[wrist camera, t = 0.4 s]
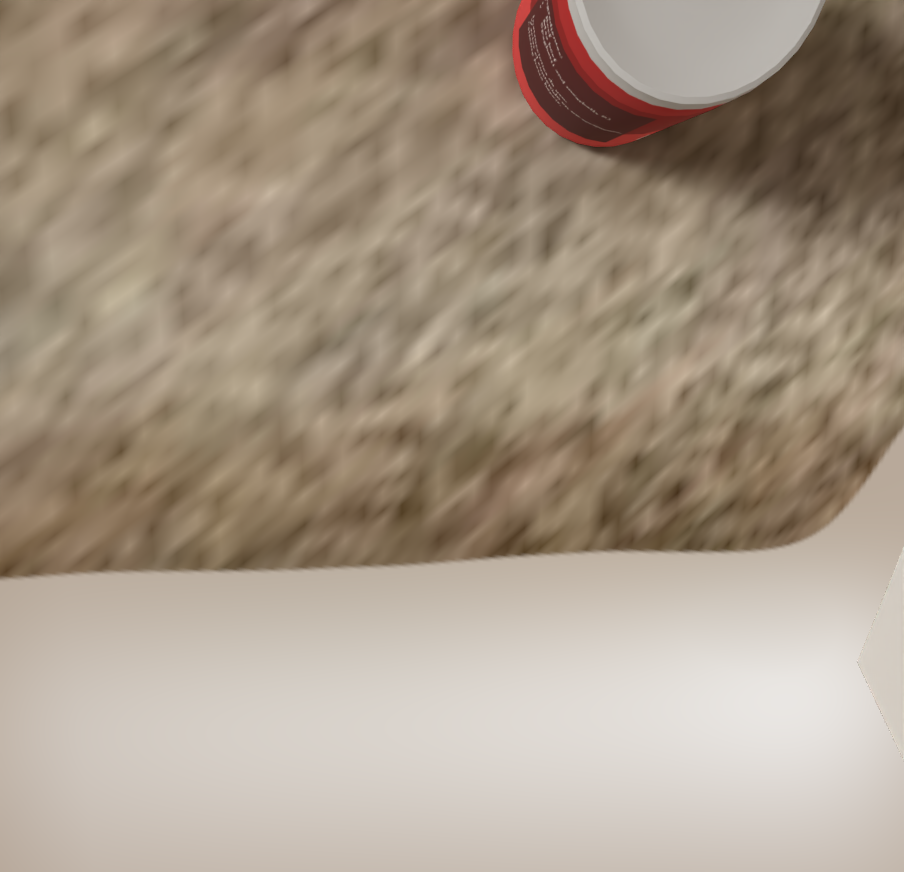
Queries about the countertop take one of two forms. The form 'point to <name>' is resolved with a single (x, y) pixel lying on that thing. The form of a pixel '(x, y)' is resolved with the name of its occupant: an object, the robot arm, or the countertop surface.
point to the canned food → (648, 59)
